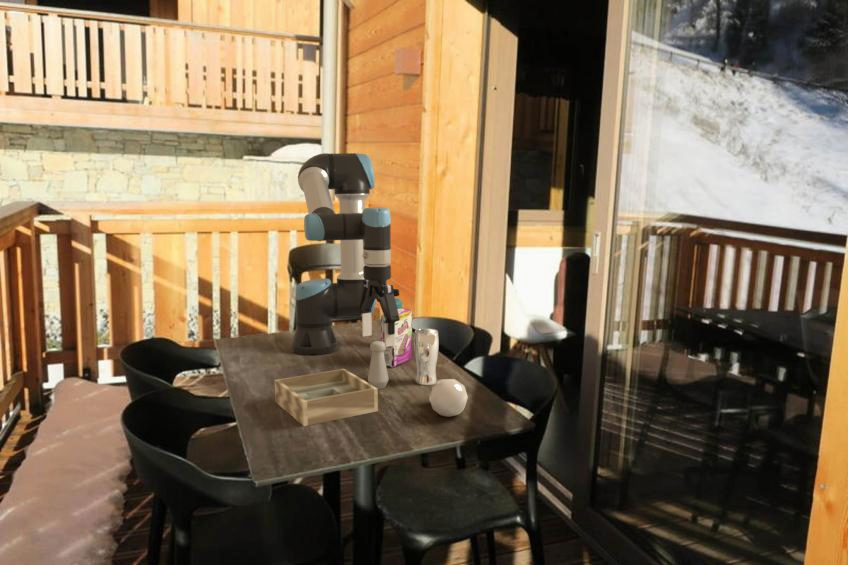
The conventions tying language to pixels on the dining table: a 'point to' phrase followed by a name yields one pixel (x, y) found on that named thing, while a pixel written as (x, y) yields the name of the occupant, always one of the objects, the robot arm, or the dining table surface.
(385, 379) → the salt shaker
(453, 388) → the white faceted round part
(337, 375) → the insert box
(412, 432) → the dining table surface
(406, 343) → the candy bar box
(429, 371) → the beer glass
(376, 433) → the dining table surface
